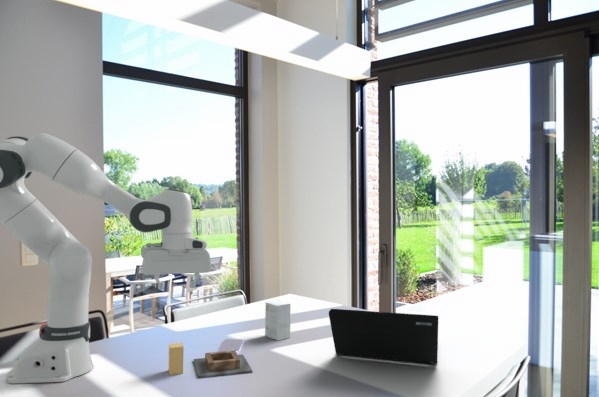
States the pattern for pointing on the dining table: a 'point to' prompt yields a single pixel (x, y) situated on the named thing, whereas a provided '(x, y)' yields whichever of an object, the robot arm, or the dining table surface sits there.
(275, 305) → the small box
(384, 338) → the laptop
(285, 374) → the dining table surface
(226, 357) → the socket board
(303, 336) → the dining table surface
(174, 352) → the plug block
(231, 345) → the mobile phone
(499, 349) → the dining table surface
